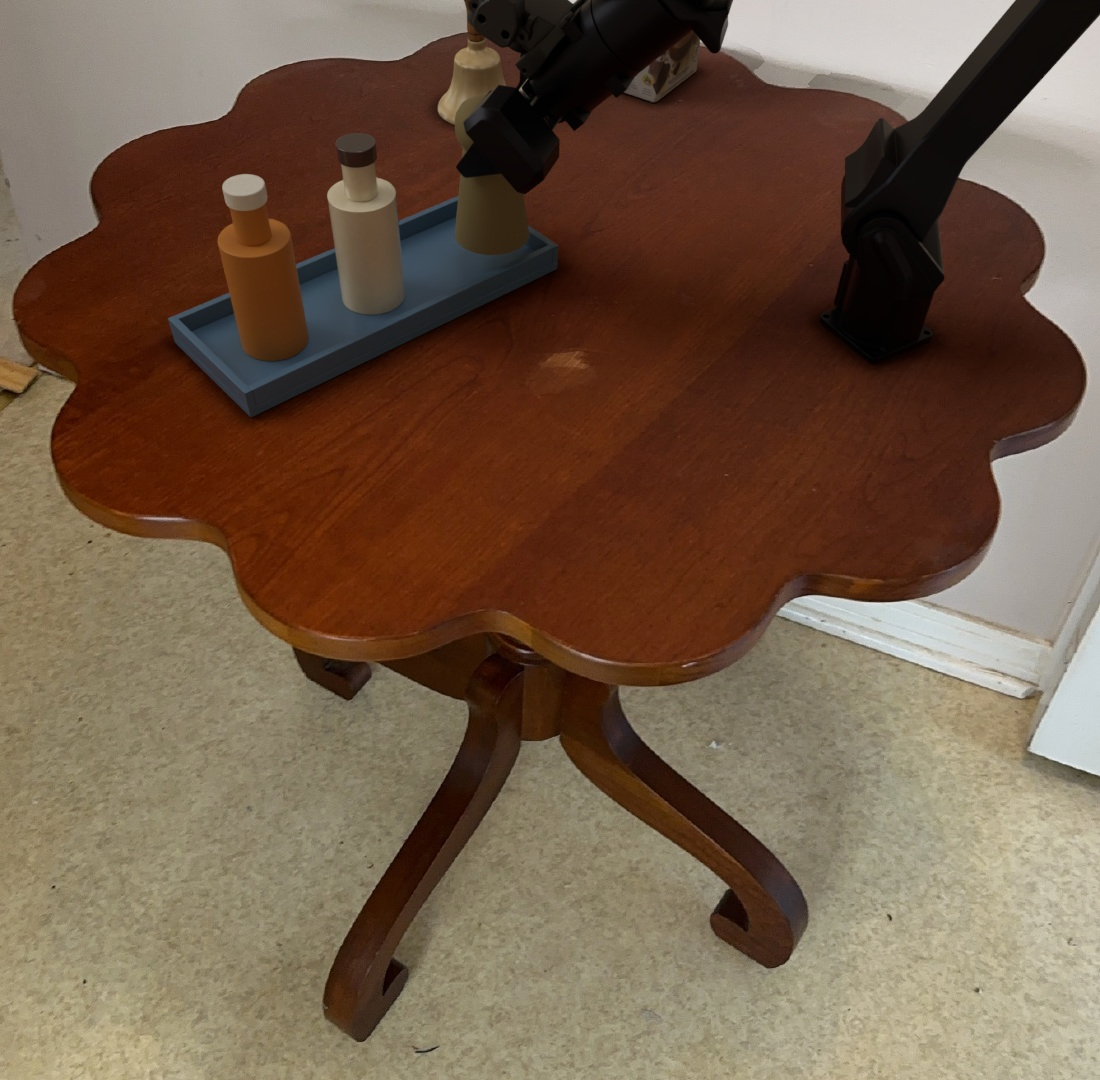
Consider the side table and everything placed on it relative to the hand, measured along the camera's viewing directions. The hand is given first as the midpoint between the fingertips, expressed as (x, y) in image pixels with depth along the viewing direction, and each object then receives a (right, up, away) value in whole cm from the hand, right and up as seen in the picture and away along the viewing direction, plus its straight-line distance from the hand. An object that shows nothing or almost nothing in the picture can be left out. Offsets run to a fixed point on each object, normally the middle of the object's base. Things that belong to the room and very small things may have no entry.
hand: (473, 155), depth 84 cm
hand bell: (-1, +13, +26) cm, 29 cm away
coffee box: (+17, +19, +31) cm, 40 cm away
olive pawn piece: (+1, -5, +5) cm, 7 cm away
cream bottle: (-8, -10, +3) cm, 13 cm away
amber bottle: (-15, -14, -1) cm, 21 cm away
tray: (-8, -11, +4) cm, 14 cm away
